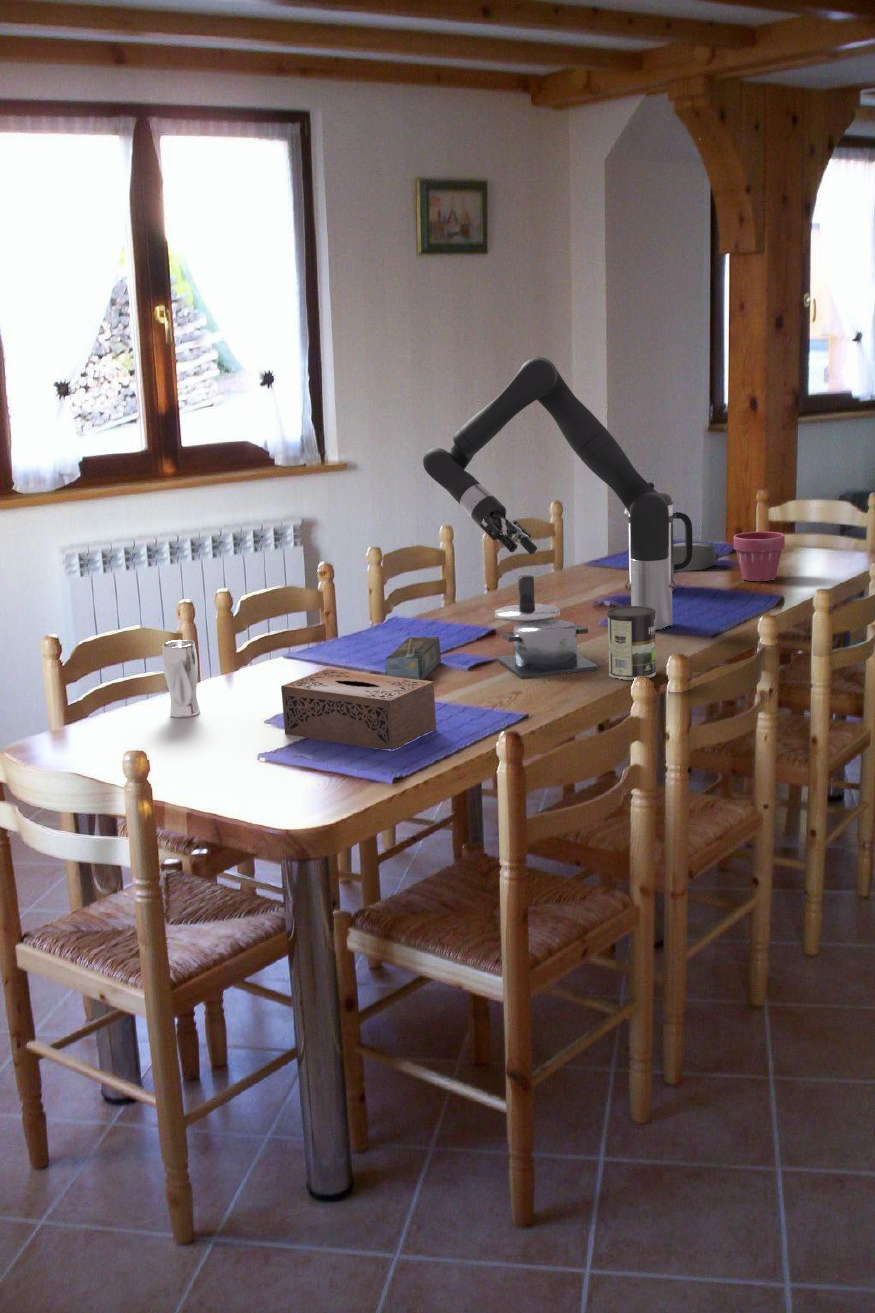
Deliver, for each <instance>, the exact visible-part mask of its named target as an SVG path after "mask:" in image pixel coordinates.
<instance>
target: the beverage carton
mask: <svg viewBox="0 0 875 1313" xmlns="http://www.w3.org/2000/svg"><path fill="white" fill-rule="evenodd" d="M440 642H441V641H440V637H439V636H432V637H431V636H429V637H428V636H427V637H426V636H421V637H419V636H418V637H417V636H416V637H413V636H412V637H408V638H407V639H405V641H403V642H402V643H401V644H400V645H399V646H398V647H397V648H396V649H395V650H393V651H392V652H391V653H390V654H389V655H388V656H387V657H386V658H385V670H386V671H385V672H386V676H392V677H400V678H408V679H417V680H425V678H426V677H427V676H428V675H430V673H431V672H432V671H433V670H434V669H435V668H436V667H437V666H438V665H439V664H440V663H441V662H442V659H441V658H442V656H441V643H440Z"/></svg>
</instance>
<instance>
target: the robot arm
mask: <svg viewBox="0 0 875 1313" xmlns="http://www.w3.org/2000/svg"><path fill="white" fill-rule="evenodd" d="M535 401H538V402H539V403H540V404H541V406H543V408H545V409H546V411H547V412H548V413H549V414H550V416H551V417H552V418H553V420H554V421H555V423H556V425H557V427H558V428H559V430H560V431H561V434H562V435H563V437H564V439H565V440H566V441H567V444H568V445H569V446H570V448H572V450H573V451H574V452H575V454H576V455H577V456H578V458H580V460H581V461H582V462H583V464H584V465H585V466H587V468H588V469H589V470H591V472H592V473H593V474H595V475H596V476H597V477H598V478H599V479H600V480H602V482H604V483H605V484H606V485H608V487H610V488H611V490H613V492H614V493H615V494H616V496H617V497H618V499H619V500H620V501H621V503H622V504H623V506H624V507H625V509H627V510H628V512H629V514H630V555H631V583H630V587H631V588H630V604H631V605H630V606H641V607H649V608H652V609H654V610H655V611H656V613H655V631H656V630H663V628H664V629H666V628H665V627H667V626H668V625H672V626H673V591H672V589H671V588H669V586H670V585H669V559H668V557H669V510H668V506H667V503H666V501H665V499H664V498H663V497H662V496H661V495H660V494H659V493H658V492H657V491H658V490H656V489H655V487H654V488H652V487H651V486H650V485H649V484H648V483H649V482H647V481H646V479H644V478H643V476H641V474H640V473H639V472H638V471H637V470H636V468H635V467H634V466H633V464H632V463H631V461H630V459H629V458H628V456H627V455H626V453H625V452H624V451H623V450H624V449H622V447H621V446H620V445H619V443H618V442H617V440H616V439H615V438H614V437H613V434H611V433H610V431H608V429H607V428H606V427H605V425H604V424H602V423H601V421H600V420H599V419H598V418H597V417H596V416H595V414H593V413H592V412H591V410H589V409H588V407H586V406H585V405H584V404H583V403H582V401H580V399H578V398H577V396H576V395H575V394H574V393H573V391H572V390H571V389H570V387H569V386H568V385H567V383H566V382H565V380H564V379H563V377H562V375H561V374H560V373H559V371H558V369H557V367H556V366H555V364H554V363H553V362H552V361H551V360H549V359H548V358H545V357H541V356H535V357H531V358H529V359H528V360H527V361H525V362H524V363H523V364H522V365H521V367H520V368H519V370H518V372H517V373H516V374H515V375H514V377H513V379H512V380H511V381H510V382H509V384H508V385H507V386H506V387H505V388H504V389H503V390H502V392H500V394H499V395H497V397H495V398H494V399H493V400H492V401H491V402H489V403H488V404H487V405H486V406H485V407H483V408H481V410H479V411H478V412H477V413H476V414H475V415H473V417H471V418H470V419H469V420H468V421H467V422H466V423H464V425H462V426H461V427H460V428H459V429H458V430H457V431H456V432H455V433H454V434H453V437H452V440H453V441H452V442H453V443H454V444H453V445H452V447H451V448H450V449H449V450H448V451H447V450H446V449H444V448H442V447H434V448H430V449H428V450H427V452H426V453H424V456H423V458H422V463H423V464H422V465H423V469H424V470H425V472H426V473H427V474H428V475H429V476H430V478H432V479H433V480H434V481H435V482H436V483H438V484H439V485H440V486H441V487H443V489H445V490H446V491H447V492H448V493H449V494H450V495H451V497H452V498H453V499H454V500H455V501H456V502H457V503H458V504H459V505H460V506H461V507H462V509H463V510H464V511H465V513H466V514H467V515H468V516H469V517H470V519H472V520H473V521H474V522H475V523H476V524H477V526H478V527H480V529H481V530H483V531H484V532H485V533H486V535H488V536H489V537H490V539H492V540H493V541H494V542H495V541H496V540H497V542H498V543H500V544H502V545H503V546H504V548H506V549H507V550H508V552H510V553H515V552H516V550H517V549H518V544H520V545H521V546H522V547H523V548H524V550H525V551H527V552H528V553H529V554H530V555H535V553H536V551H538V546H537V545H535V544H534V542H533V541H532V540H531V538H532V535H531V534H530V533H529V532H528V530H527V529H525V528H524V527H523V526H522V525H521V524H520V523H519V522H518V521H517V520H514V521H513V520H510V519H509V518H506V516H507V515H506V514H507V508H506V507H505V506H504V505H503V503H501V502H500V501H499V499H497V498H496V496H494V494H492V492H491V491H489V489H488V488H486V487H485V486H483V485H482V484H481V483H480V482H479V481H478V479H476V478H475V477H474V476H473V475H472V474H471V473H470V472H469V471H467V470H465V469H466V468H467V467H468V465H469V464H470V462H472V459H473V458H474V456H475V455H476V454H477V453H478V452H479V451H480V450H482V448H484V446H486V445H487V444H489V442H490V441H491V440H492V439H493V438H494V437H496V436H497V435H498V433H499V432H500V431H501V430H502V429H503V428H504V427H505V426H506V425H507V424H508V423H509V422H510V421H511V420H512V419H513V418H514V417H515V416H516V415H518V414H519V413H520V412H521V411H523V410H524V409H525V408H527V407H528V406H529V405H531V404H532V403H534V402H535ZM629 514H628V515H629ZM517 543H518V544H517ZM667 628H668V627H667Z"/></svg>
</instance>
